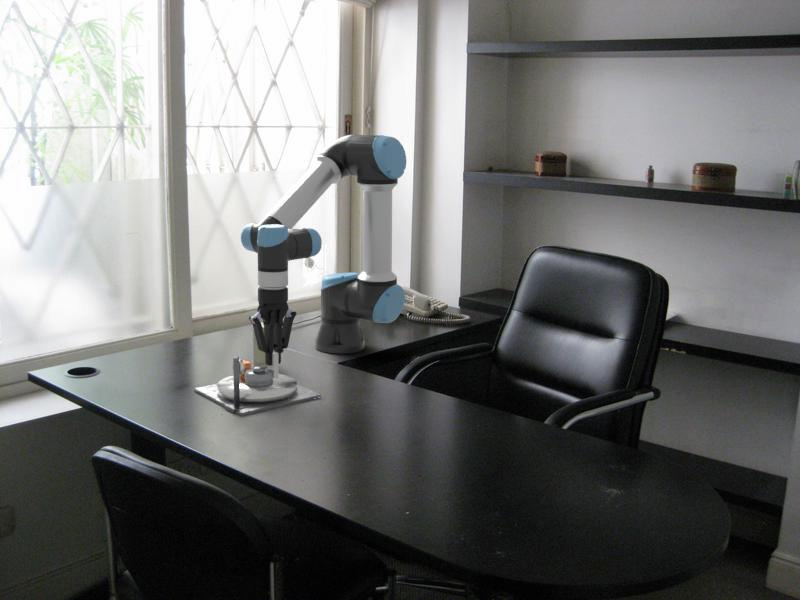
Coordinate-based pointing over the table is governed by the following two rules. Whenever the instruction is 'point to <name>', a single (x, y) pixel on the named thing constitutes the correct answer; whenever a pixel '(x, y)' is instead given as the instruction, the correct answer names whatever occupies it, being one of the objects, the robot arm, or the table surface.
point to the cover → (258, 377)
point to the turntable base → (255, 407)
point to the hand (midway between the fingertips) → (273, 376)
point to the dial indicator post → (236, 385)
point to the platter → (276, 391)
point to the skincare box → (258, 353)
